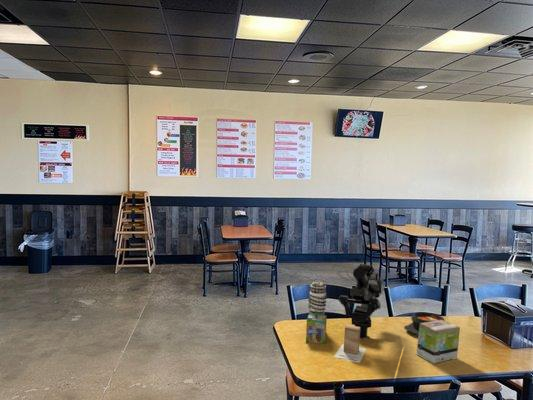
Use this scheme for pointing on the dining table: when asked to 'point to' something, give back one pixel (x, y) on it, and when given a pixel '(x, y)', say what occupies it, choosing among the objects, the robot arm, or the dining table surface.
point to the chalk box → (316, 328)
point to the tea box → (438, 341)
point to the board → (350, 355)
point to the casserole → (421, 321)
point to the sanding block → (351, 339)
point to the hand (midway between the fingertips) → (356, 319)
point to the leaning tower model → (317, 298)
